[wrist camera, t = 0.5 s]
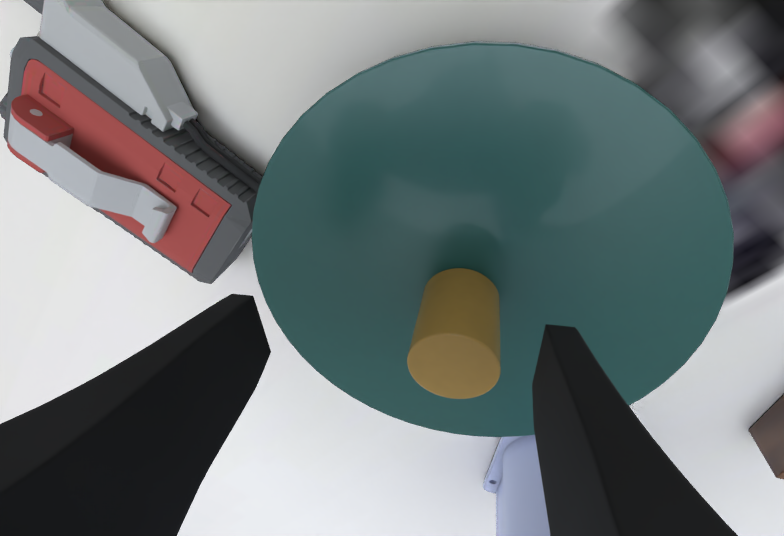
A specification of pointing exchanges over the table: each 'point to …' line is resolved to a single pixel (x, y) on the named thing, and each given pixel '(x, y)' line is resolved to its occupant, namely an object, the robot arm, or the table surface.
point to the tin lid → (489, 232)
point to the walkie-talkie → (126, 137)
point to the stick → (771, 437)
